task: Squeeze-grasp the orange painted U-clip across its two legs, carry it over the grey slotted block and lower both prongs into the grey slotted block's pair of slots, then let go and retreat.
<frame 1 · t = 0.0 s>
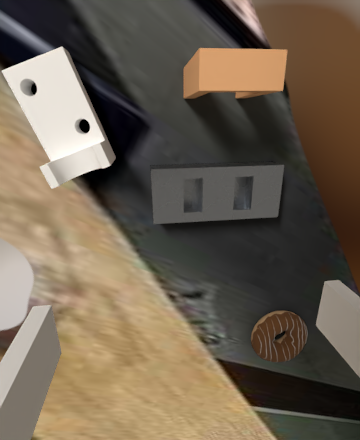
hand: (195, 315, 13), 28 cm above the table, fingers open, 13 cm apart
grey slotted block: (212, 188, 40), on the table
donut: (273, 328, 52), on the table
clip: (215, 83, 35), on the table
bracket: (70, 118, 35), on the table
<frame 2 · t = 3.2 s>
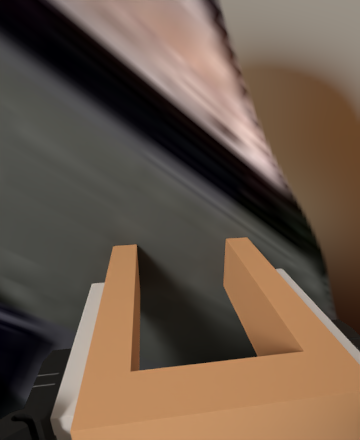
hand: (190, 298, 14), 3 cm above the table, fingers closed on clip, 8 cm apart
clip: (182, 266, 18), on the table, touching gripper
when the fingers open (5 cm above the table, at t = 7.8 s): clip stays where it is, resting on grey slotted block.
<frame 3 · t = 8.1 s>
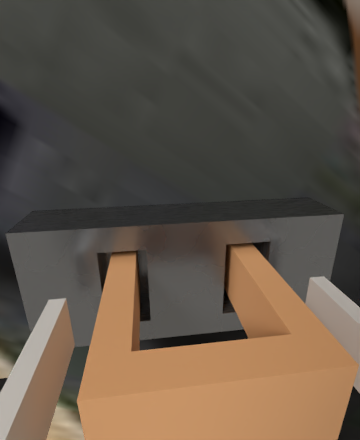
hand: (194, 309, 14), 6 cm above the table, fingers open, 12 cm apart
grey slotted block: (179, 255, 19), on the table
clip: (180, 260, 18), point 1 cm above the table, touching grey slotted block
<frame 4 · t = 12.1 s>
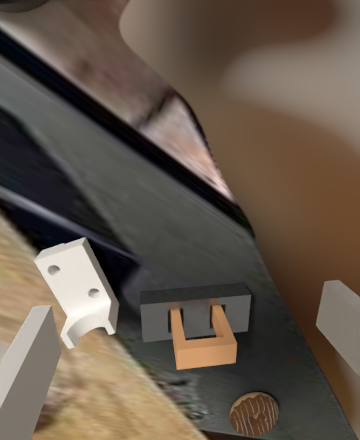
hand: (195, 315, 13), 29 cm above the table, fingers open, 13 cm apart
grey slotted block: (193, 305, 48), on the table
donut: (250, 404, 60), on the table
clip: (193, 307, 47), point 1 cm above the table, touching grey slotted block
bracket: (83, 275, 44), on the table
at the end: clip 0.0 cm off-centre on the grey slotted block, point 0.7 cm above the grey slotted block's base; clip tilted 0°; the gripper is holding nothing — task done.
